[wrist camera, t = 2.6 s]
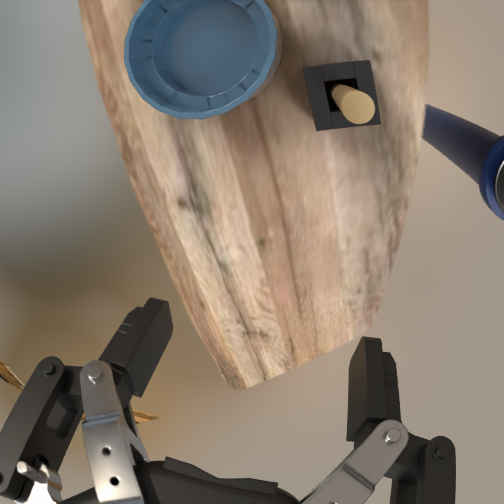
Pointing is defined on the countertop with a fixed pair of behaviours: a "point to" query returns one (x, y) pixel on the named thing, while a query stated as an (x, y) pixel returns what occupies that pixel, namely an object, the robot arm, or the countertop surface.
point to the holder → (318, 97)
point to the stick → (353, 103)
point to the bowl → (202, 54)
